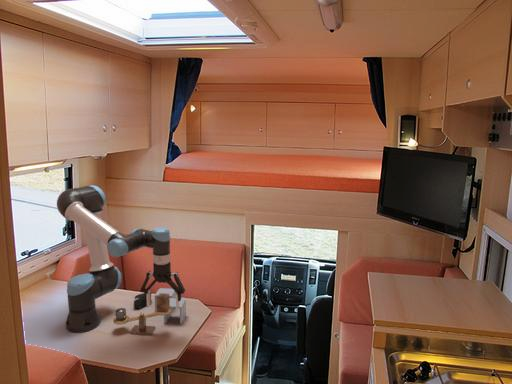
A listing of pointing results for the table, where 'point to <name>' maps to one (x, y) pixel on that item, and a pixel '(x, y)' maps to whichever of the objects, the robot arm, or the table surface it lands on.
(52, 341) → the table surface
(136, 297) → the rock
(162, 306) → the block
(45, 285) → the table surface
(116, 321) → the balance
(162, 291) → the cover
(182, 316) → the cover
